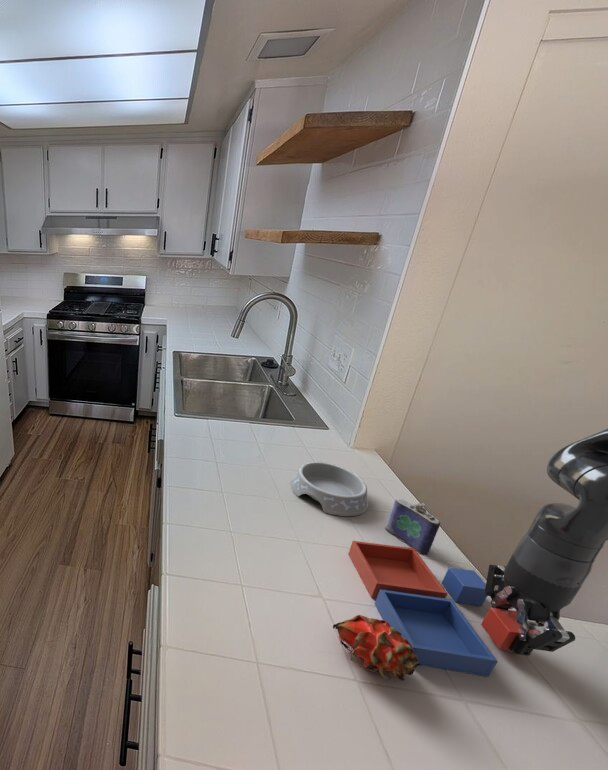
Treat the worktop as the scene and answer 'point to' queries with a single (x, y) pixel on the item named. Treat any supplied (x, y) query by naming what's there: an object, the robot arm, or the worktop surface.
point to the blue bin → (436, 632)
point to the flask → (413, 525)
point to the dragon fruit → (378, 646)
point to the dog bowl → (332, 488)
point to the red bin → (393, 570)
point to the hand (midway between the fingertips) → (505, 637)
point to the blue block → (465, 586)
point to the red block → (501, 626)
